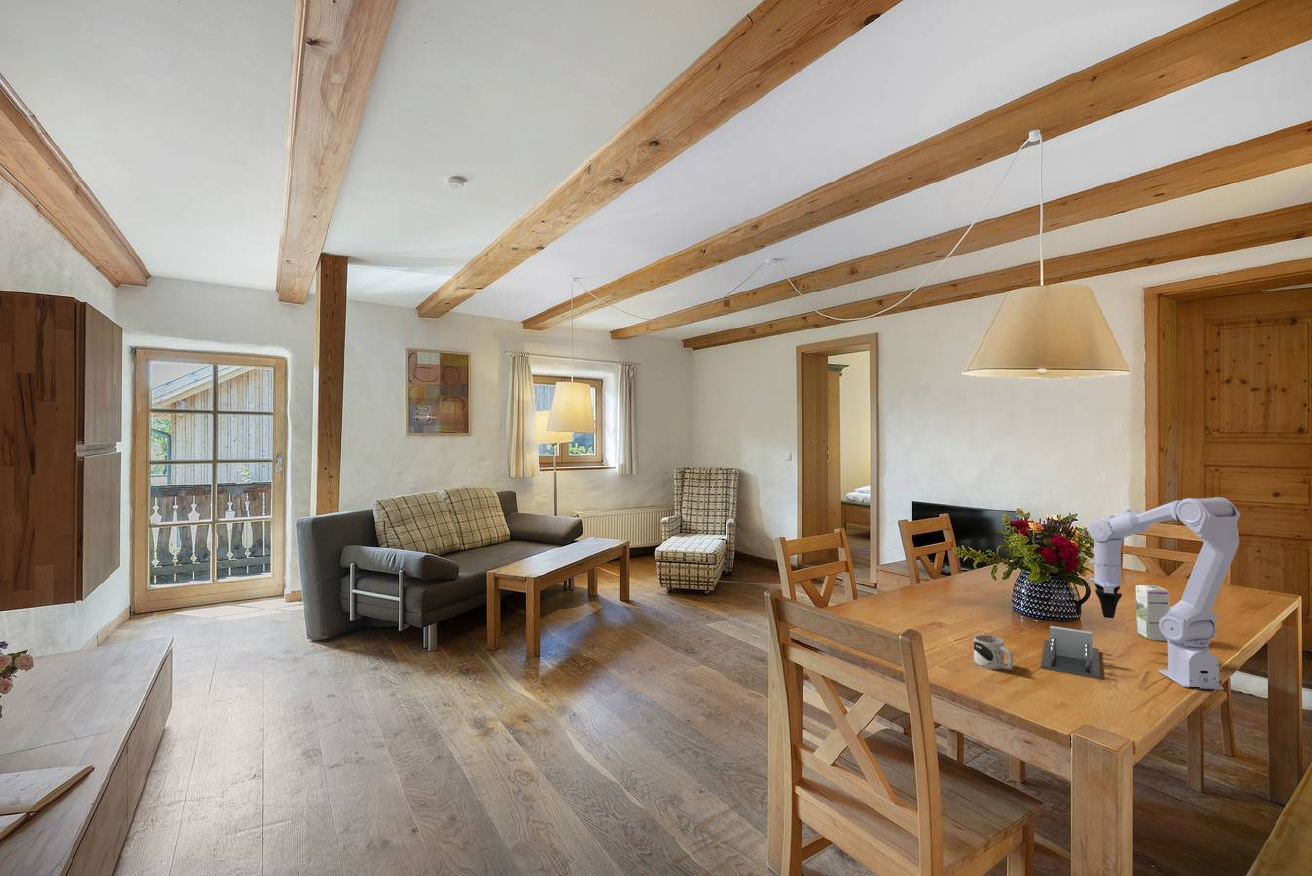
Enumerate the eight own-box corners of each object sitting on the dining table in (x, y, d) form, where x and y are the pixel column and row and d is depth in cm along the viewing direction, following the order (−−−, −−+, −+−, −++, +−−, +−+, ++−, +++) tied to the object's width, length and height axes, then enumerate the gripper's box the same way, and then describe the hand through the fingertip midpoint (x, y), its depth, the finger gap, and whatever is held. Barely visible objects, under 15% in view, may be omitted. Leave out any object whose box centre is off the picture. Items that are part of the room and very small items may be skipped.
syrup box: (1171, 641, 165) (1170, 590, 165) (1147, 640, 166) (1146, 589, 166) (1158, 634, 171) (1157, 585, 171) (1135, 633, 172) (1134, 584, 172)
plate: (1092, 661, 149) (1092, 633, 149) (1050, 653, 154) (1049, 627, 154) (1092, 659, 150) (1092, 632, 150) (1050, 652, 156) (1050, 625, 156)
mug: (968, 662, 152) (967, 636, 152) (986, 658, 154) (986, 633, 154) (1003, 676, 142) (1002, 649, 142) (1022, 672, 145) (1022, 645, 145)
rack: (1100, 679, 140) (1100, 657, 140) (1040, 668, 147) (1040, 647, 147) (1098, 651, 158) (1098, 632, 158) (1045, 642, 165) (1044, 624, 165)
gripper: (1088, 557, 167) (1089, 605, 167) (1089, 567, 155) (1090, 618, 155) (1120, 560, 163) (1120, 609, 163) (1123, 570, 151) (1124, 623, 151)
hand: (1108, 614), depth 158 cm, fingers open, 7 cm apart
